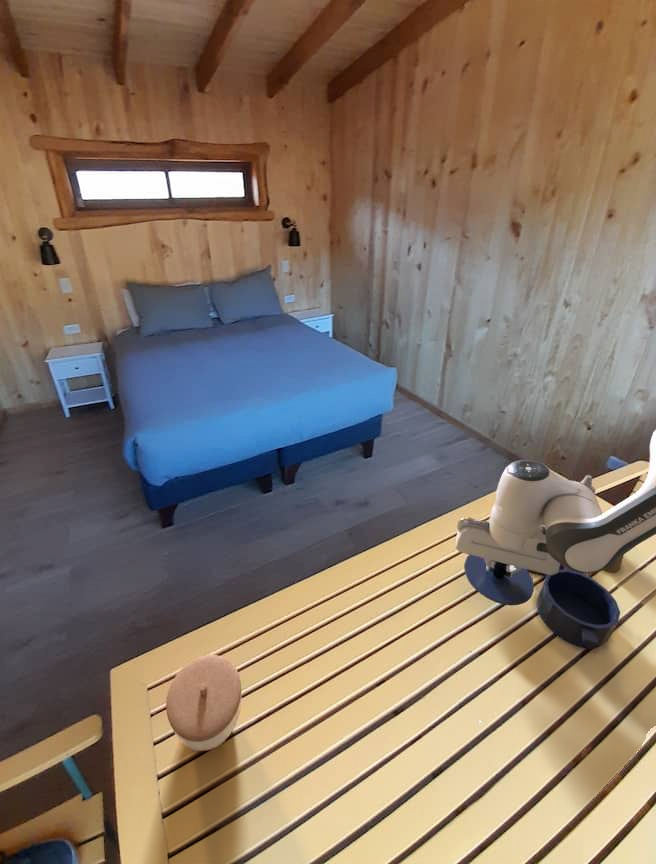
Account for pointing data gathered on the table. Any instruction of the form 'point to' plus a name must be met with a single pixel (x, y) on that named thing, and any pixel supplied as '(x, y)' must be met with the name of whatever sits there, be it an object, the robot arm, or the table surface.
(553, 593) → the pot
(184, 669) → the lidded bowl
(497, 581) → the lid
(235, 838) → the table surface
